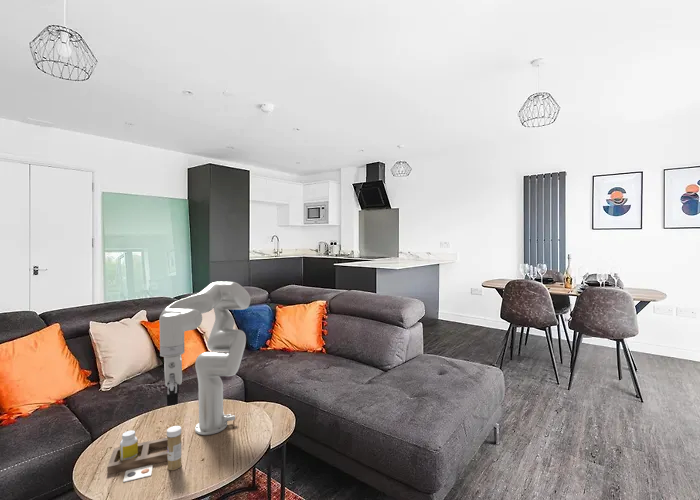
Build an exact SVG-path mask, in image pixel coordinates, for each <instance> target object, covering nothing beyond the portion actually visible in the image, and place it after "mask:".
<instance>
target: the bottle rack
mask: <svg viewBox="0 0 700 500" xmlns="http://www.w3.org/2000/svg"><path fill="white" fill-rule="evenodd" d="M167 446H168V439H167V437H164V438H159V439H153V440H148V441H143V442H139V443H138V454H139V453H141V454H140V456H138V457H137V458H132V459H128V460H123V461H120V460H119V461H118V458H120V446H118V447H114V448H113V450H112V452H111V455H110V459H109V461H108V464H107V466H106V472H107V473H106V474H107V475H111V474H114V473H118V472H119V473H120V472H124V471H128V470H132V469H136V468H141V467H145V466H150V465H155V464H159V463H164V462H168V458H167V455H168V452H167V450H165V451H161V452H156V453H152V454H150V451H151V450H152V451H153V450H157V449H162V448H167Z"/></svg>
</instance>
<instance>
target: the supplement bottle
mask: <svg viewBox="0 0 700 500" xmlns="http://www.w3.org/2000/svg"><path fill="white" fill-rule="evenodd" d="M138 442H139V441H138V437H137V436H136V431H135V430H131V429H130V430H128V431H127V430H126V431H125V432H123V433H122V435H121V441H120V442H119V447H120V457H119V461H123V460H128V459H132V458H137V457H139V453H138Z"/></svg>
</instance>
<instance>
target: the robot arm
mask: <svg viewBox="0 0 700 500" xmlns="http://www.w3.org/2000/svg"><path fill="white" fill-rule="evenodd" d="M250 305H251V296H250V293H249V292H248V291H247V290H246V288H244V287H243V286H242V285H241V284H240V283H238V282H235V281H214V282H211V283H209V284H208V285H207V286H205V287H204V288H203V289H201V290H200V291H199V292H198V293H196V294H192V295H190V296H187V297H184V298H181V299H179V300H176V301H174V302H172V303H171V304H169V305H168V306H166V307H165V308H164V309H163V310H162V312H161V313H160V315H159V320H158V322H159V356H160V357H163V363H164V364H163V365H164V382H165V383H164V384H165V387H167V393H166V405H167V407H169V406H177V405H178V404H179V392H180V387H179V386H180V385H182V382H183V381H182V380H183V361H182V360H183V358H182V355H183V354H185V332H188V331H193V330H196V329H197V328H199V327H200V325H201V324H202V321H203V315H202V314H205V313H209V312H211V311H212V310H213V311H214V323H213V326H212V327H211V328H212V329H211V330H210V334H209V337H208V340H207V348H208V349H209V350H210V351H205V352H201V353H200V354H198V356H197V357H196V359H195V362H194V363H195V371H196V372H195V373H196V375H197V376H196V377H197V384H198V386H197V387H198V423H197V424H196V425H195V427H194V430H195V433H196V434H198V435H201V436H202V435H203V436H210V435H211V436H212V435H215V434H218V433H220V432H222V431H224V430H225V429H226V428H227V427H228V422H229V421H230V422H231V421H235V420H236V415H235V414H234V415H233V414H232V413H228V414H225V412H224V384H223V380H222V378H221V377H233V376H235V375H236V374H237V373H238V371H239V368H240V366H241V362H242V359H243V356H244V351H245V350H246V349H245V348H246V343H247V337H246V336H247V335H246V333H245V332H244V331H243V330H242V329H236V328H235V329H234V327H235V319H234V316H233V315H232V314H231V312H230V311H229V310H231V311H233V310H239V311H241V310H246V309H248V308H249V306H250Z"/></svg>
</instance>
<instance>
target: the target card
mask: <svg viewBox="0 0 700 500" xmlns="http://www.w3.org/2000/svg"><path fill="white" fill-rule="evenodd" d="M153 466H154V464H151V465H146V466H142V467H138V468H133V469H129V470H125V473H124V476H123V477H124V478H123V481H122V483H127V482H131V481H134V480H139V479H143V478H147V477H151V476H152V473H153Z"/></svg>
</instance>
